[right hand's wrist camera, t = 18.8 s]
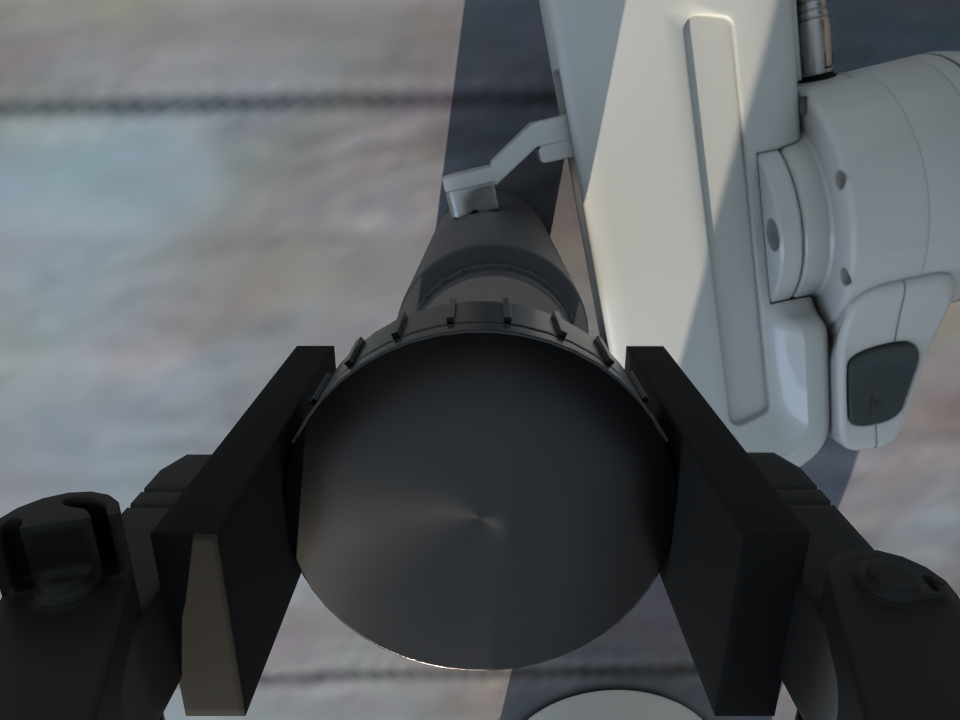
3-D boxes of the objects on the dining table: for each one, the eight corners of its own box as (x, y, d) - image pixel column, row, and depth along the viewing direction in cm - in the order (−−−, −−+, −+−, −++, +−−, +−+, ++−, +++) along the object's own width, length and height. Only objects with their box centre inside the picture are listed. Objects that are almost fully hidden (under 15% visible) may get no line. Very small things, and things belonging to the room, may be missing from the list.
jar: (515, 168, 31) (539, 213, 16) (566, 270, 32) (629, 395, 18) (413, 223, 32) (349, 314, 17) (467, 321, 33) (451, 478, 19)
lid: (306, 600, 13) (284, 666, 11) (297, 283, 11) (266, 311, 9) (630, 617, 13) (649, 684, 11) (683, 306, 11) (716, 338, 9)
